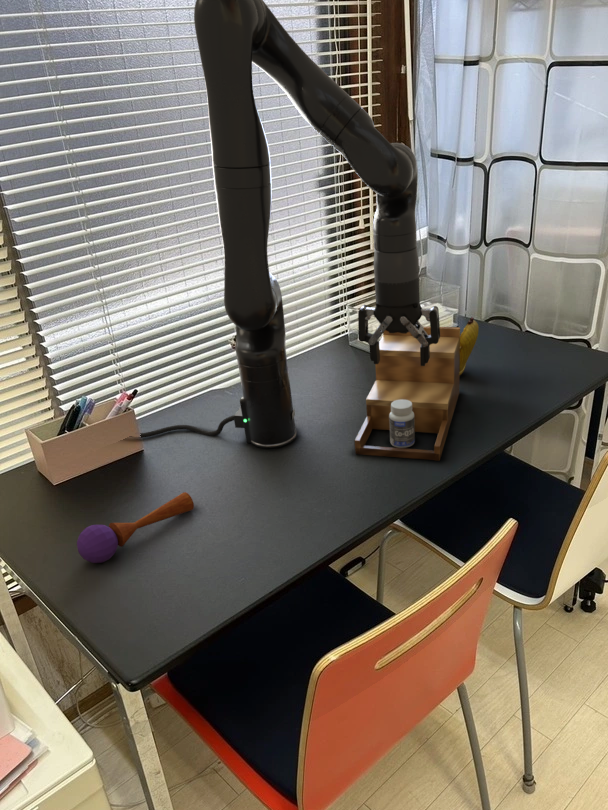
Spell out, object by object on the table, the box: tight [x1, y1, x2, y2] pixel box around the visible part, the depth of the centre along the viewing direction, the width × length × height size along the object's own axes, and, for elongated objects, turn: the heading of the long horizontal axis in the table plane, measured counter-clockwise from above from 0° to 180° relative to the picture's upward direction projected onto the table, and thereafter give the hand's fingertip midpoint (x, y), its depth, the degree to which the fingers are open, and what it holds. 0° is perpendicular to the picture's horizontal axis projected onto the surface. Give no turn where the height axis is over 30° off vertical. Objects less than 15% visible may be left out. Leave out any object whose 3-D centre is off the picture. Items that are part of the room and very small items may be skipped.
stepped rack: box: [354, 325, 461, 461], centre depth 139 cm, size 16×28×15 cm, turn 165°
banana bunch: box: [459, 316, 480, 377], centre depth 156 cm, size 12×8×15 cm
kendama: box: [76, 491, 195, 564], centre depth 115 cm, size 6×6×20 cm
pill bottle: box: [389, 399, 416, 449], centre depth 134 cm, size 5×5×8 cm
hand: (400, 363), depth 127 cm, fingers open, 8 cm apart
